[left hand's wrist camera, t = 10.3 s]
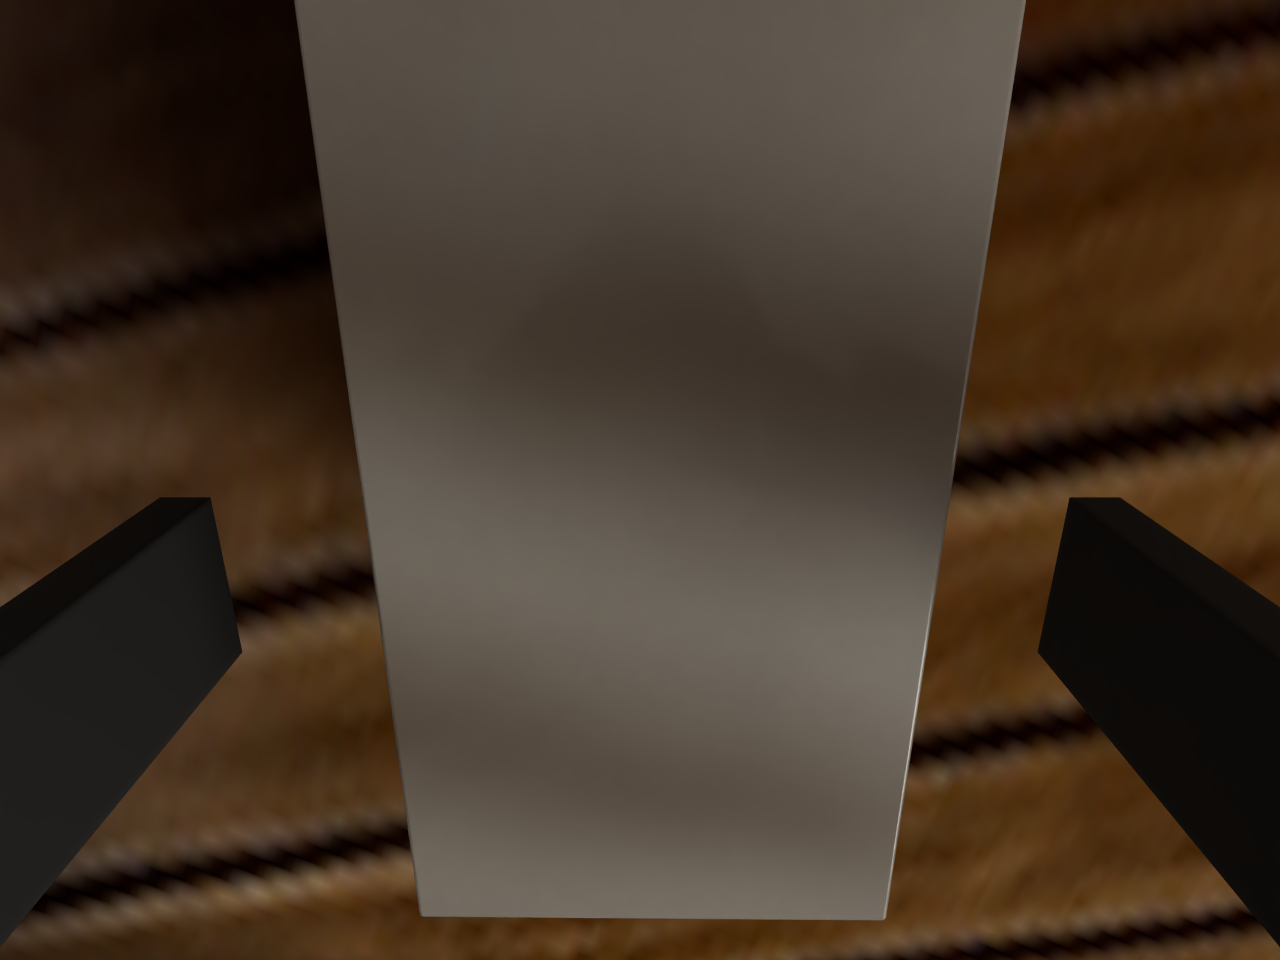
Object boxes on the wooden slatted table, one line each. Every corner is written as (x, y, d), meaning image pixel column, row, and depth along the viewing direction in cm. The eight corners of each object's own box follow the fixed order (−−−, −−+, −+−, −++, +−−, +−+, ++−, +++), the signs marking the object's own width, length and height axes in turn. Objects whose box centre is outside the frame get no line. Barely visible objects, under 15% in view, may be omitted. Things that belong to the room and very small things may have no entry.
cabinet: (473, -254, 15) (149, -1015, 5) (835, -254, 15) (1187, -1030, 5) (523, 572, 21) (418, 918, 12) (777, 573, 21) (886, 922, 12)
